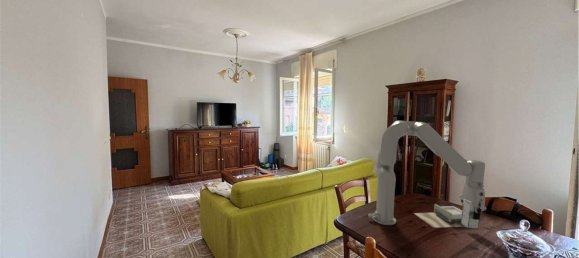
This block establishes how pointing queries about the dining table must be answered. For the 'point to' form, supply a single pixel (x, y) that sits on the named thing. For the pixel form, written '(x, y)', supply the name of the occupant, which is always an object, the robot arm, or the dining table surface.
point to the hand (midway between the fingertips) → (470, 215)
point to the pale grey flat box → (448, 213)
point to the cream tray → (437, 220)
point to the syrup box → (469, 215)
